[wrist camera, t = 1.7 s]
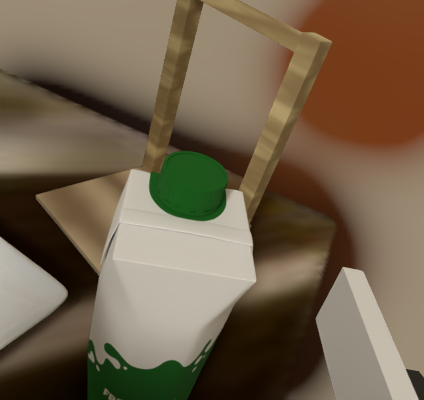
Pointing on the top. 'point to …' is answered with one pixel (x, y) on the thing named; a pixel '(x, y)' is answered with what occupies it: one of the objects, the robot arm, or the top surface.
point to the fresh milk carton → (167, 280)
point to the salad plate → (24, 293)
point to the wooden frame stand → (165, 115)
